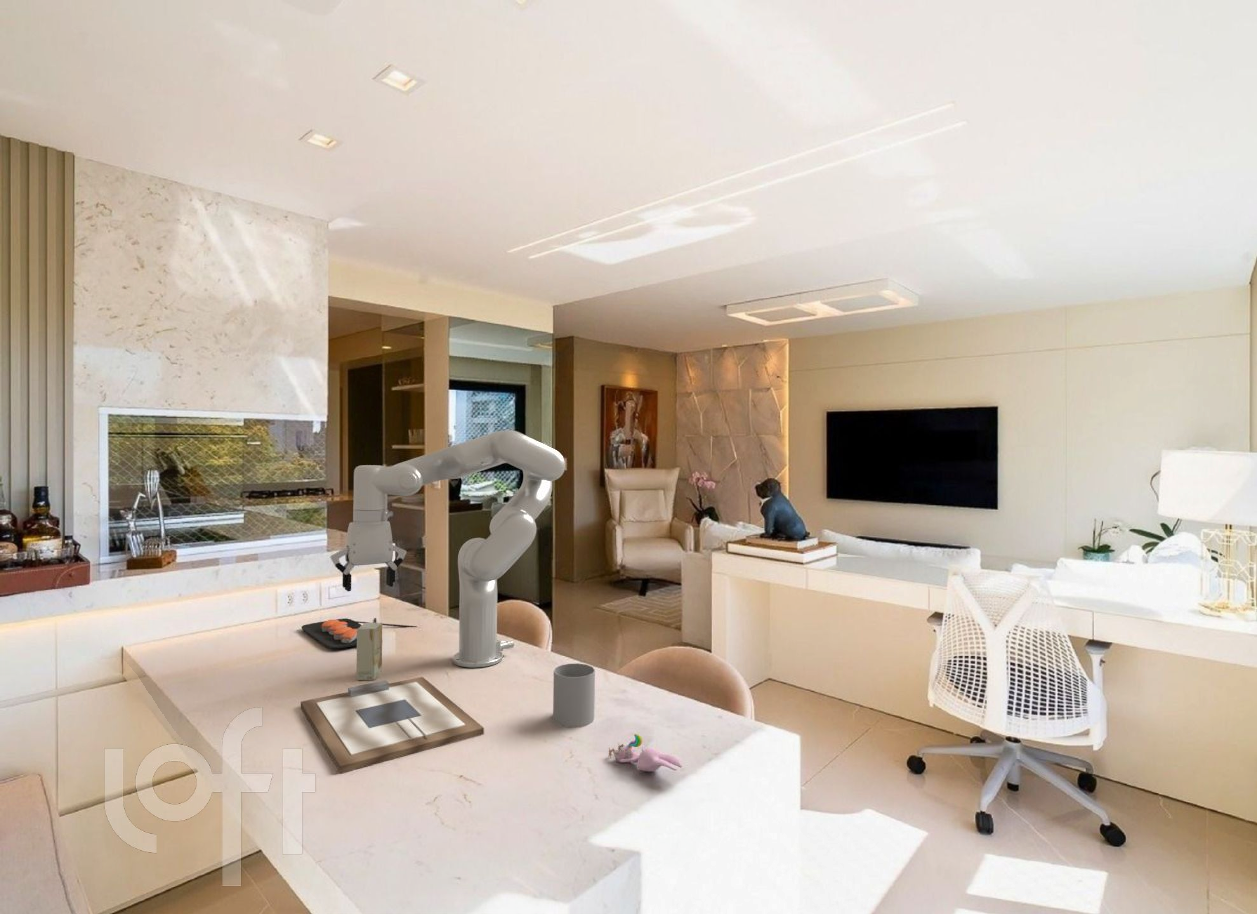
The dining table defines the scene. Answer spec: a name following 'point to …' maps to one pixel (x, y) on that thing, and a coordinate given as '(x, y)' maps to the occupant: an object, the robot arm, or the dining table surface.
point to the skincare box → (369, 651)
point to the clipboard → (386, 722)
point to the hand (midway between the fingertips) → (369, 588)
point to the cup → (574, 695)
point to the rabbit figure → (644, 756)
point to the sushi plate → (337, 632)
